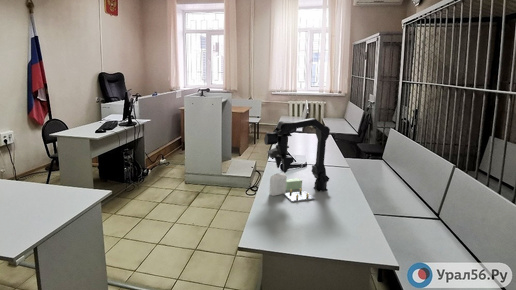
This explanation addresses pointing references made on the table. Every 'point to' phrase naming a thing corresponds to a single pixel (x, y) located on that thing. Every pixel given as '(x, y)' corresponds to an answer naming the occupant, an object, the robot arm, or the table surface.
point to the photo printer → (277, 184)
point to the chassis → (298, 196)
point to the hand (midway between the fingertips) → (281, 170)
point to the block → (293, 184)
